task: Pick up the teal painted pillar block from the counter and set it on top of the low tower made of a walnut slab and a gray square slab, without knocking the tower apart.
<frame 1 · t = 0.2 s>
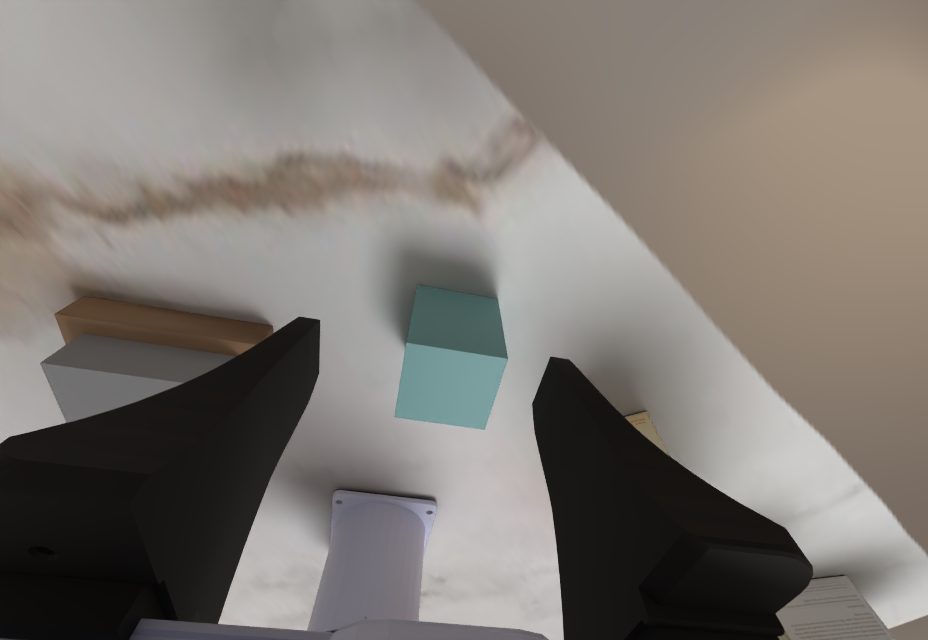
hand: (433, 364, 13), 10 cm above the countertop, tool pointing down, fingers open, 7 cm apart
walnut slab: (198, 372, 26), on the countertop, touching gray square slab
teal block: (450, 325, 23), on the countertop
supplement box: (787, 598, 41), on the countertop
gray square slab: (176, 400, 24), point 2 cm above the countertop, touching walnut slab
coffeecake box: (612, 483, 31), on the countertop
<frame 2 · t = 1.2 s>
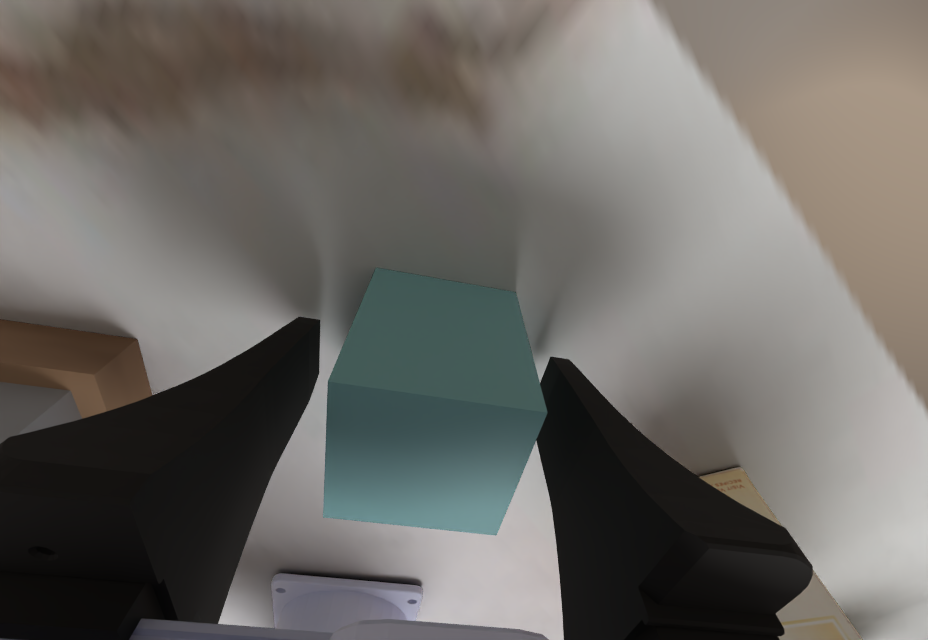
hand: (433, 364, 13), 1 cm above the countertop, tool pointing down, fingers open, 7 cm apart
walnut slab: (41, 413, 16), on the countertop, touching gray square slab
teal block: (435, 337, 14), on the countertop
coffeecake box: (673, 560, 22), on the countertop
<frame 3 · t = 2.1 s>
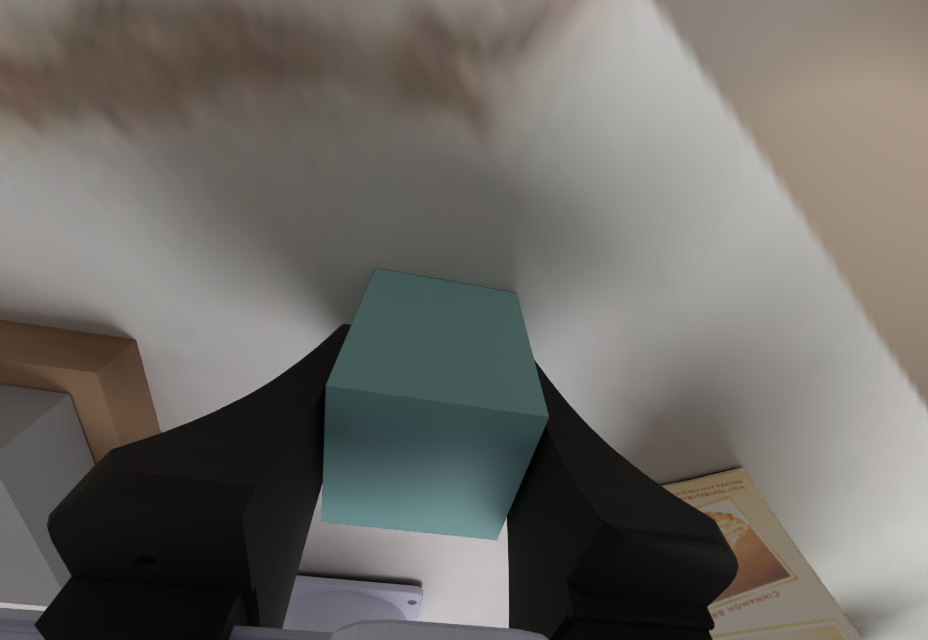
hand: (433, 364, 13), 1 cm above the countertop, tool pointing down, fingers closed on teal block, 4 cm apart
walnut slab: (42, 411, 16), on the countertop
teal block: (435, 338, 14), on the countertop, touching gripper
coffeecake box: (674, 561, 22), on the countertop
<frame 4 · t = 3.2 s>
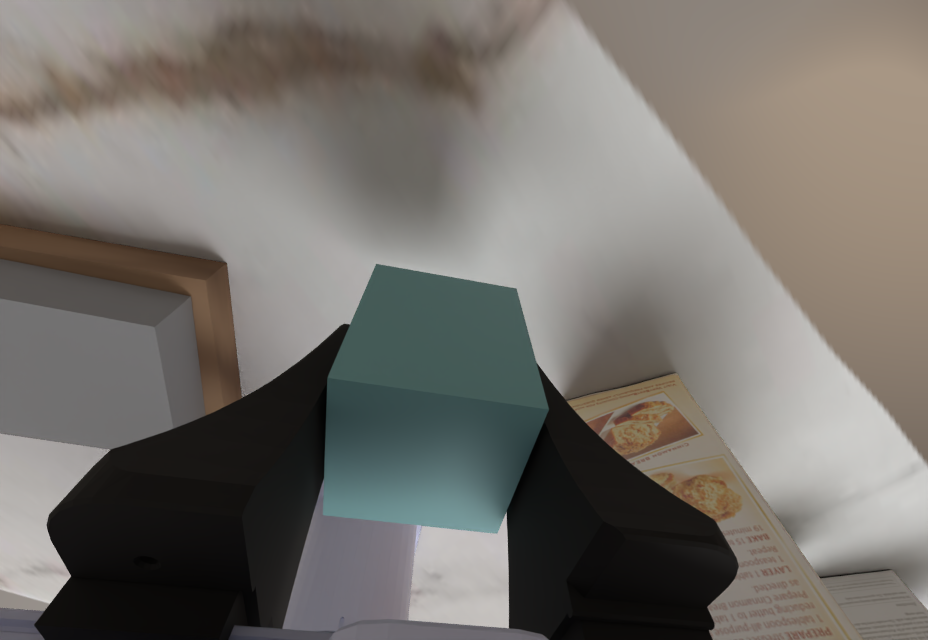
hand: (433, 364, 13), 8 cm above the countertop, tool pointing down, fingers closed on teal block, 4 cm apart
walnut slab: (144, 325, 22), on the countertop, touching gray square slab
teal block: (436, 334, 14), point 6 cm above the countertop, touching gripper
supplement box: (823, 596, 37), on the countertop
gray square slab: (111, 350, 19), point 2 cm above the countertop, touching walnut slab
coffeecake box: (632, 462, 27), on the countertop
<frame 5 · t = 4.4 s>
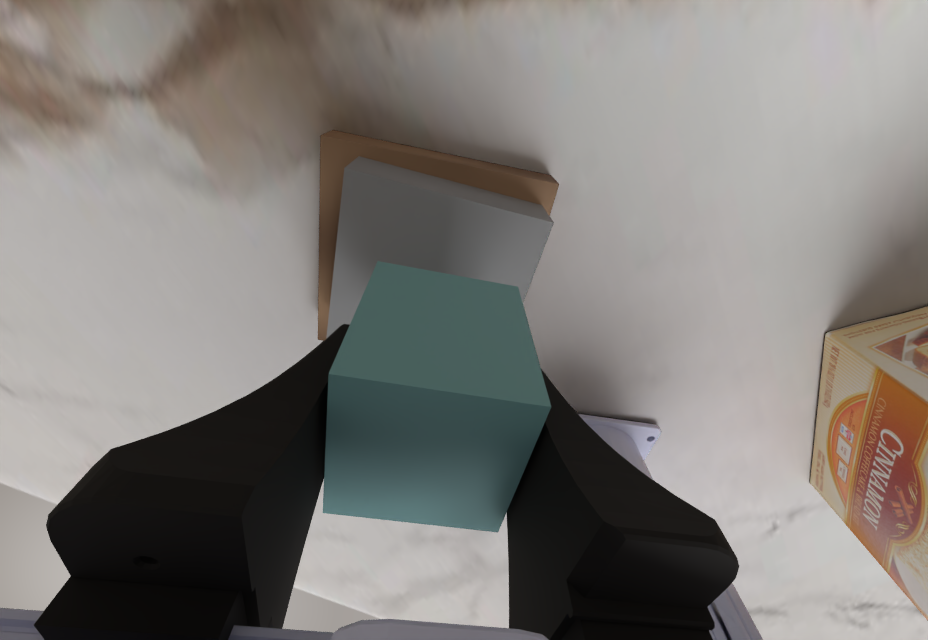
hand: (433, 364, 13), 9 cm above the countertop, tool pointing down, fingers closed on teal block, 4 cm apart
walnut slab: (429, 250, 21), on the countertop, touching gray square slab
teal block: (437, 332, 14), point 8 cm above the countertop, touching gripper
gray square slab: (433, 265, 19), point 2 cm above the countertop, touching walnut slab
coffeecake box: (867, 402, 27), on the countertop
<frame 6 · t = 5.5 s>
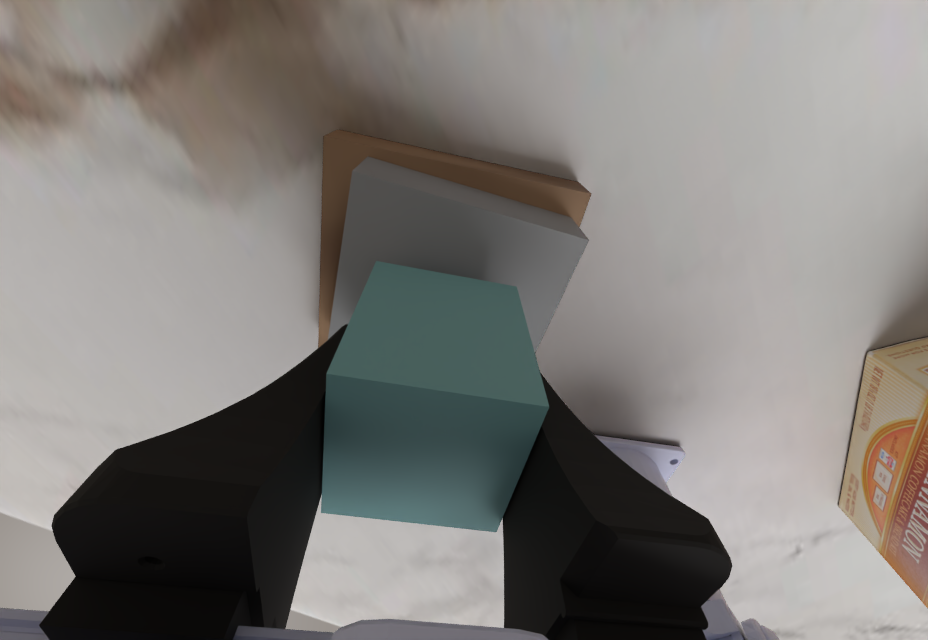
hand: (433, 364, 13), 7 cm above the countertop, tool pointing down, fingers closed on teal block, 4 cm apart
walnut slab: (441, 262, 20), on the countertop
teal block: (436, 332, 14), point 6 cm above the countertop, touching gripper
gray square slab: (446, 280, 17), point 2 cm above the countertop
coffeecake box: (905, 424, 25), on the countertop
when the fingers open (7 cm above the countertop, at t = 5.8 s): teal block drops 2 cm, resting on gray square slab.
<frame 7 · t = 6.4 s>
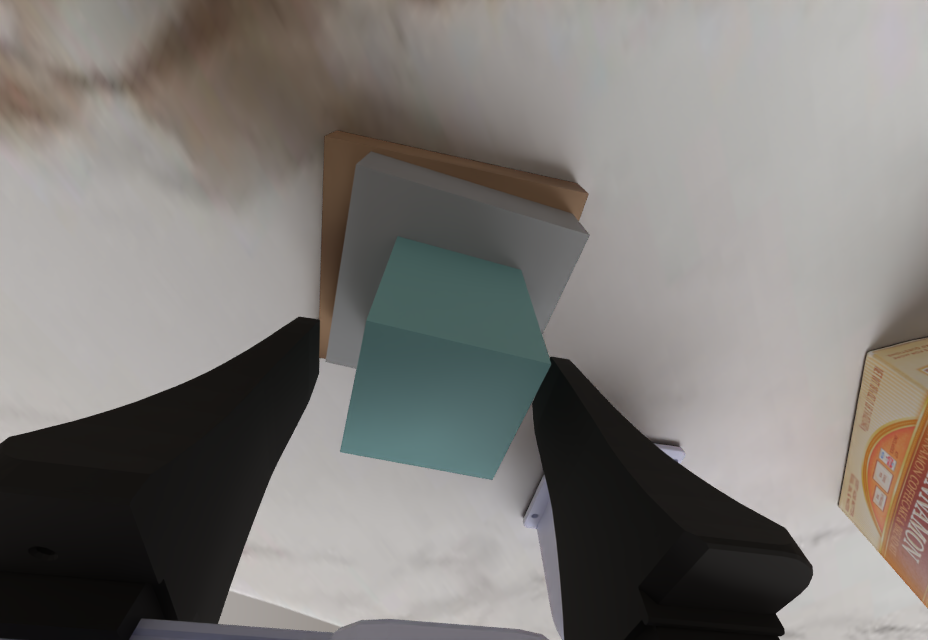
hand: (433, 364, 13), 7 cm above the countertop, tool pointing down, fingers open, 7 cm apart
walnut slab: (440, 262, 20), on the countertop, touching gray square slab
teal block: (444, 307, 15), point 4 cm above the countertop, touching gray square slab
gray square slab: (447, 275, 17), point 2 cm above the countertop, touching teal block, walnut slab
coffeecake box: (905, 424, 25), on the countertop
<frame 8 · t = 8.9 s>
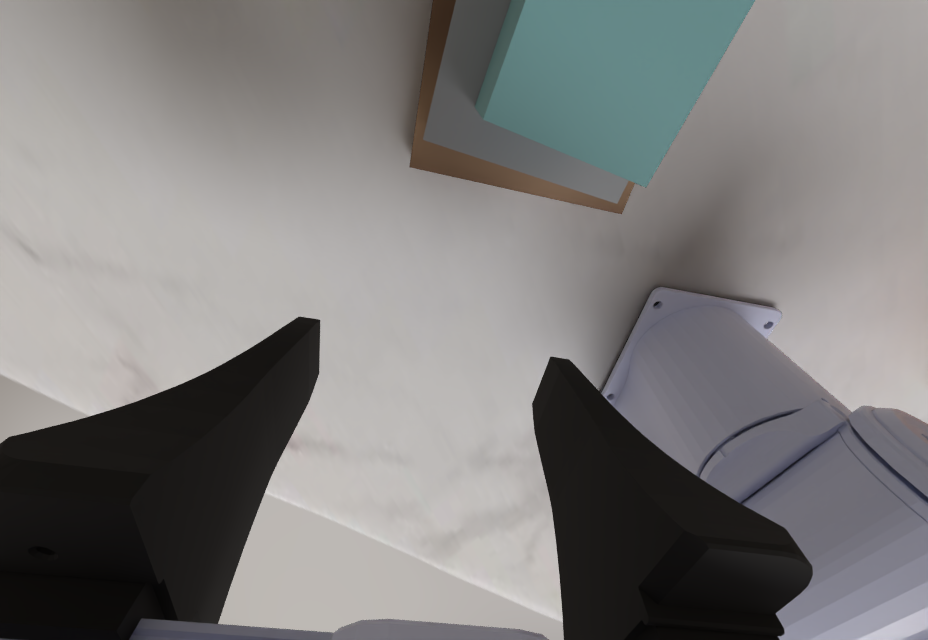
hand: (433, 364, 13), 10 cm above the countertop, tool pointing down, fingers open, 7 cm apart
walnut slab: (543, 64, 18), on the countertop
teal block: (560, 62, 14), point 4 cm above the countertop
gray square slab: (553, 56, 16), point 2 cm above the countertop
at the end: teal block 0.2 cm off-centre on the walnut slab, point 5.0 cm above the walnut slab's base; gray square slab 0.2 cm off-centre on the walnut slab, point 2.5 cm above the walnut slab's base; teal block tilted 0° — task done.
